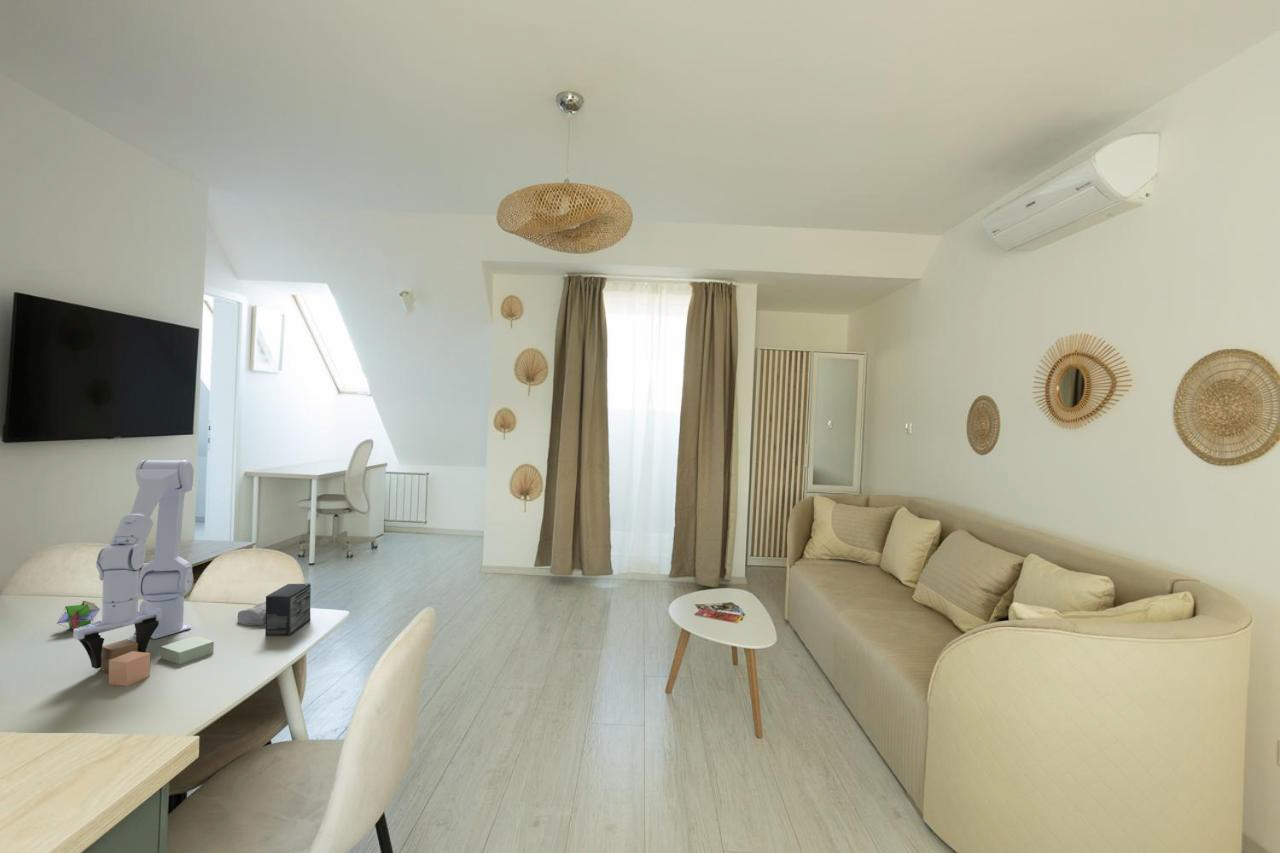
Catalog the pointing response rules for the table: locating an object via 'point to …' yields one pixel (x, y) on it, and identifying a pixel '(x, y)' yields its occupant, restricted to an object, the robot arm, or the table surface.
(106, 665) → the walnut block
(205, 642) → the base block
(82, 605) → the geometric puzzle
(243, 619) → the stone block
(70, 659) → the table surface
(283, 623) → the small box
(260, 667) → the table surface
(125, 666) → the terracotta block
